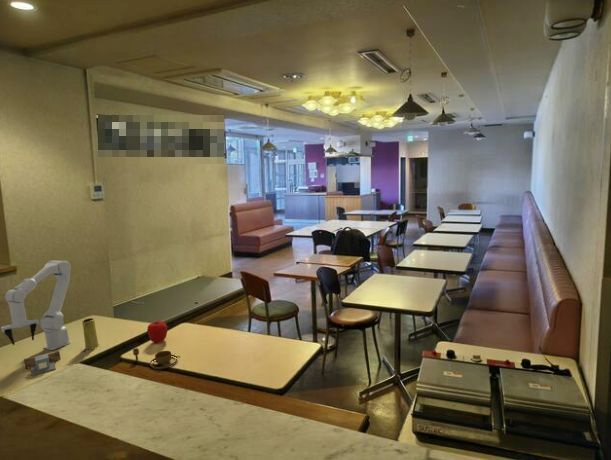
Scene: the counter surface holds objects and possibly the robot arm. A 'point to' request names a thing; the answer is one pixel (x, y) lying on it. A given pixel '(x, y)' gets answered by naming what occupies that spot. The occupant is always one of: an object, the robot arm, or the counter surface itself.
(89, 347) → the vase
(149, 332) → the apple
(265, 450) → the counter surface
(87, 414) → the counter surface
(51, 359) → the walnut screen
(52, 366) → the mat
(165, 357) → the place setting
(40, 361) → the slate cube
